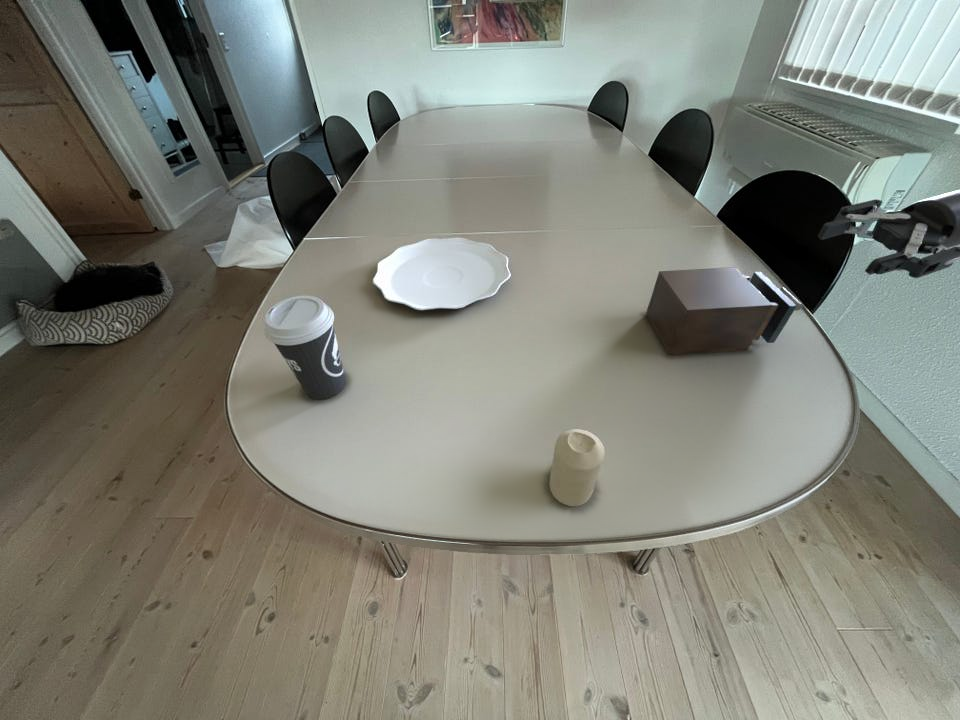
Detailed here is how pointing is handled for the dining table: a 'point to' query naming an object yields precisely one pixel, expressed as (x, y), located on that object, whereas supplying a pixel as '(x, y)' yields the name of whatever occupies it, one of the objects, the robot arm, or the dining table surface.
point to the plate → (441, 274)
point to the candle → (575, 466)
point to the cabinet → (706, 310)
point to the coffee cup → (307, 344)
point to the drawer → (774, 307)
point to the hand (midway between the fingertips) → (845, 249)
